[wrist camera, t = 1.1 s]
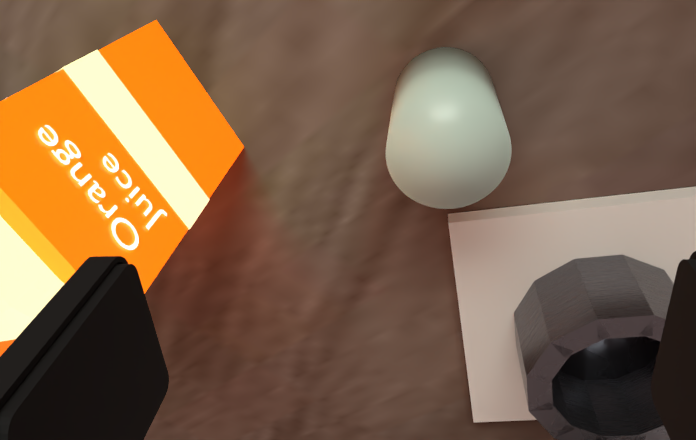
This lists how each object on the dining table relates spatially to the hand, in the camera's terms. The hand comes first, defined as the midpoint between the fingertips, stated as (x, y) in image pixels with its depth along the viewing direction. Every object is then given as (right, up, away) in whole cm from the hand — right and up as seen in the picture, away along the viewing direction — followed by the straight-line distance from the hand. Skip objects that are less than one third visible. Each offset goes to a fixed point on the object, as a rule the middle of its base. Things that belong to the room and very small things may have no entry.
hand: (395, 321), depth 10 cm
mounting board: (+13, -4, +24) cm, 27 cm away
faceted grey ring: (+13, -4, +24) cm, 27 cm away
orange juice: (-12, +7, +21) cm, 25 cm away
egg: (+4, +8, +18) cm, 20 cm away
